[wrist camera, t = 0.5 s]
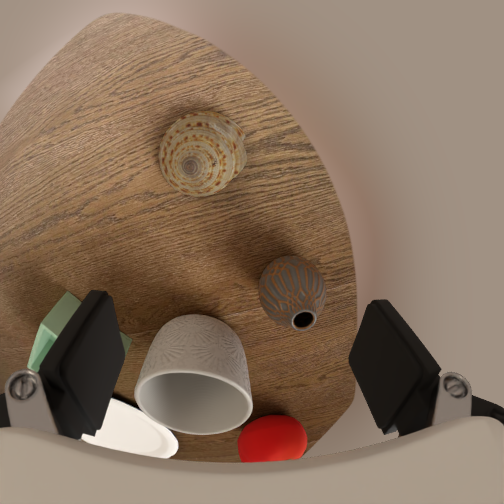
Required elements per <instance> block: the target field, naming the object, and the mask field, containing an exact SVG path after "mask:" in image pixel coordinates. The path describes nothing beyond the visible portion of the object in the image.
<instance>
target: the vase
mask: <svg viewBox="0 0 504 504" xmlns="http://www.w3.org/2000/svg"><path fill="white" fill-rule="evenodd" d="M259 299H260V302H261V305H262V307H263V309H264V311H265V312H266V314H267V315H268V316H269V317H270V318H271V319H272V320H273V321H274V322H276V323H278V324H280V325H282V326H285V327H290V328H293V329H295V330H298V331H304V330H307V329H309V328H311V327H312V326H313V325H314V324H315V322H316V319H317V317H318V316H319V315H320V313H321V312H322V310H323V308H324V305H325V301H326V286H325V282H324V279H323V277H322V275H321V273H320V272H319V270H318V269H317V268H316V267H315V266H314V265H313V264H312V263H311V262H310V261H308V260H306V259H304V258H302V257H298V256H283V257H280V258H277V259H275V260H274V261H272V262H271V263H270V264H269V265H268V266H267V267H266V268H265V270H264V271H263V273H262V275H261V278H260V281H259Z"/></svg>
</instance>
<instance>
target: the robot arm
mask: <svg viewBox="0 0 504 504" xmlns="http://www.w3.org/2000/svg"><path fill="white" fill-rule="evenodd" d="M124 360H125V349H124V346H123V342H122V338H121V334H120V330H119V326H118V322H117V318H116V313H115V309H114V304H113V299H112V297H111V296H108V293H107V292H106V291H98V290H91V291H90V292H89V293H88V295H87V296H86V297H85V299H84V300H83V302H82V303H81V304H80V306H79V307H78V308H77V310H76V311H75V313H74V314H73V315H72V317H71V318H70V320H69V321H68V322H67V324H66V325H65V327H64V328H63V330H62V331H61V333H60V334H59V336H58V337H57V339H56V340H55V342H54V343H53V345H52V346H51V348H50V350H49V351H48V353H47V354H46V356H45V357H44V359H43V361H42V362H41V364H40V366H39V367H40V369H39V370H38V372H36V371H33V370H31V369H21V370H18V371H16V372H14V373H13V374H12V375H11V376H10V377H9V378H8V380H7V382H6V385H5V393H3V394H1V395H0V504H504V408H502V407H501V406H499V405H497V404H494V403H492V402H489V401H486V400H484V399H481V398H478V397H476V396H473V395H472V390H471V386H470V384H469V382H468V381H467V380H466V378H464V377H463V376H462V375H460V374H458V373H454V372H447V373H445V374H443V375H442V376H441V378H440V376H439V375H438V374H439V372H440V371H441V368H440V367H439V365H438V364H437V362H436V361H435V359H434V358H433V357H432V355H431V354H430V353H429V351H428V350H427V349H426V347H425V346H424V345H423V343H422V342H421V341H420V340H419V338H418V337H417V336H416V334H415V333H414V332H413V331H412V329H411V328H410V327H409V325H408V324H407V323H406V322H405V321H404V319H403V318H402V317H401V316H400V314H399V313H398V312H397V311H396V309H395V308H394V307H393V306H392V305H391V303H390V302H389V301H388V300H373V301H372V302H371V303H370V304H368V305H367V308H366V310H365V314H364V316H363V320H362V322H361V325H360V328H359V331H358V333H357V336H356V339H355V341H354V344H353V346H352V349H351V352H350V354H349V364H350V367H351V369H352V371H353V373H354V375H355V377H356V380H357V382H358V384H359V386H360V388H361V391H362V393H363V395H364V397H365V400H366V401H367V404H368V406H369V408H370V411H371V413H372V415H373V418H374V420H375V422H376V425H377V426H378V428H380V429H382V431H383V433H384V435H385V434H389V433H392V432H396V430H398V432H399V436H398V438H395V439H392V440H388V441H385V442H382V443H378V444H374V445H370V446H367V447H362V448H358V449H354V450H349V451H345V452H340V453H335V454H329V455H323V456H317V457H310V458H302V459H294V460H284V461H271V462H251V463H218V462H197V461H184V460H174V459H166V458H158V457H152V456H145V455H140V454H134V453H129V452H124V451H119V450H115V449H110V448H106V447H102V446H98V445H94V444H90V443H86V442H83V441H81V437H82V434H87V435H90V436H94V437H95V434H96V431H97V430H100V429H101V427H102V425H103V421H104V418H105V415H106V412H107V409H108V406H109V403H110V400H111V397H112V394H113V391H114V388H115V385H116V382H117V379H118V377H119V374H120V371H121V368H122V366H123V363H124Z"/></svg>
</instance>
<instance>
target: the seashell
mask: <svg viewBox="0 0 504 504" xmlns="http://www.w3.org/2000/svg"><path fill="white" fill-rule="evenodd" d="M244 138H245V134H244V132H243V131H242V129H241V128H240V126H239V125H237V124H236V123H235V122H234V121H233V120H231V119H229V118H227V117H226V116H224V115H222V114H220V113H217V112H212V111H198V112H193V113H190V114H187V115H185V116H183V117H181V118H179V119H178V120H177V121H176V122H175V123H173V124H172V125H171V126H170V128H169V129H168V130H167V131H166V133H165V135H164V137H163V139H162V141H161V144H160V149H159V165H160V169H161V172H162V174H163V176H164V178H165V179H166V181H167V182H168V183H169V184H170V186H172V187H173V188H174V189H175V190H176V191H178V192H180V193H182V194H185V195H189V196H194V197H203V196H208V195H212V194H215V193H217V192H219V191H220V190H222V189H223V188H224V187H225V186H226V185H227V184H228V183H229V182H230V181H231V179H232V178H234V177H236V176H237V175H238V173H240V172H241V171H242V169H243V168H244V166H245V165H246V163H247V154H246V151H245V148H244V145H243V140H244Z"/></svg>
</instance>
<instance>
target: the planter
mask: <svg viewBox="0 0 504 504" xmlns="http://www.w3.org/2000/svg"><path fill="white" fill-rule="evenodd" d="M134 394H135V400H136V402H137V404H138V406H139V408H140V409H141V410H142V411H143V413H144V414H145V415H147V416H148V417H149V418H150V419H152V420H153V421H155V422H156V423H158V424H160V425H162V426H164V427H167V428H169V429H172V430H175V431H179V432H183V433H188V434H199V435H207V434H217V433H222V432H226V431H229V430H232V429H234V428H236V427H238V426H240V425H241V424H243V423H244V422H245V421H246V420H247V419H248V418H249V416H250V415H251V413H252V409H253V402H252V396H251V389H250V381H249V375H248V368H247V362H246V357H245V353H244V349H243V346H242V344H241V341H240V339H239V337H238V336H237V334H236V333H235V332H234V331H233V330H232V329H231V328H230V327H229V326H228V325H227V324H225V323H224V322H222V321H220V320H218V319H216V318H213V317H210V316H206V315H199V314H190V315H183V316H179V317H176V318H174V319H172V320H171V321H169V322H167V323H166V324H165V325H164V326H163V327H162V328H161V329H160V330H159V332H158V333H157V334H156V336H155V338H154V340H153V342H152V344H151V346H150V348H149V351H148V353H147V356H146V359H145V361H144V364H143V367H142V370H141V373H140V376H139V379H138V382H137V384H136V387H135V392H134Z"/></svg>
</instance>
